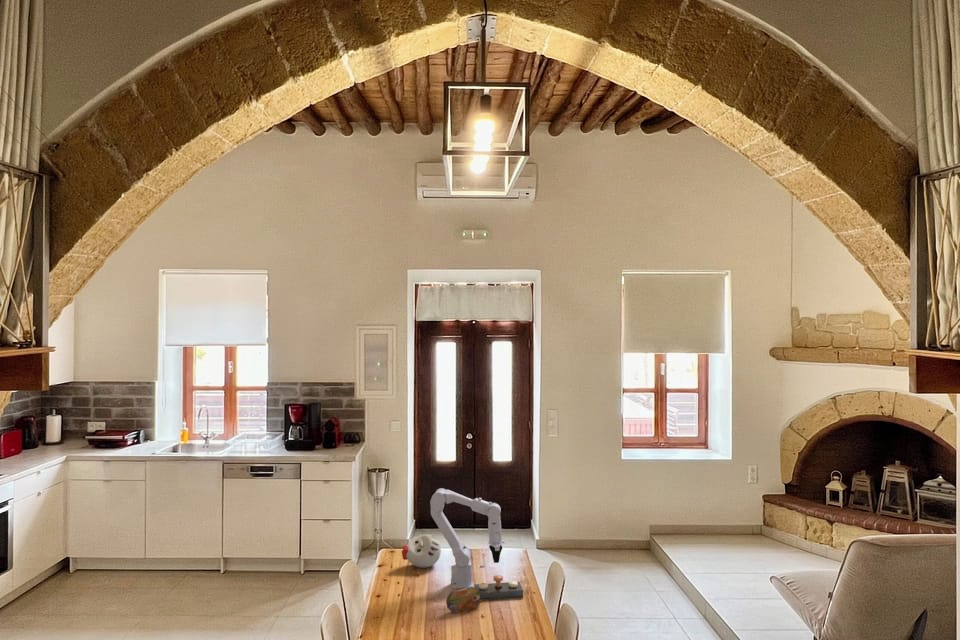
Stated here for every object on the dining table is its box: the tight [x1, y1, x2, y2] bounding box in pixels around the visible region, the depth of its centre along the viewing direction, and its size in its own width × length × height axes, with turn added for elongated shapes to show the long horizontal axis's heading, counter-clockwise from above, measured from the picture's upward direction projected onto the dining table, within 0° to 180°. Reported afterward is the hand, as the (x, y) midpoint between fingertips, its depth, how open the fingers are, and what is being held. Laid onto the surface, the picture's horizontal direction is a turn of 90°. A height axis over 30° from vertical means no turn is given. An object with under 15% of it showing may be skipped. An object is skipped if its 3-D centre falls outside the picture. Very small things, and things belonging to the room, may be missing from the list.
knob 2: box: [508, 580, 519, 588], centre depth 283 cm, size 4×4×4 cm
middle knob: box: [493, 574, 504, 588], centre depth 282 cm, size 4×4×4 cm
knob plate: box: [473, 581, 524, 601], centre depth 282 cm, size 20×10×3 cm, turn 95°
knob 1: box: [478, 582, 489, 590], centre depth 281 cm, size 4×4×4 cm
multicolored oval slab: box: [445, 587, 482, 614], centre depth 267 cm, size 15×3×8 cm, turn 117°
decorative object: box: [401, 534, 442, 569], centre depth 319 cm, size 15×19×15 cm
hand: (496, 562), depth 292 cm, fingers closed
